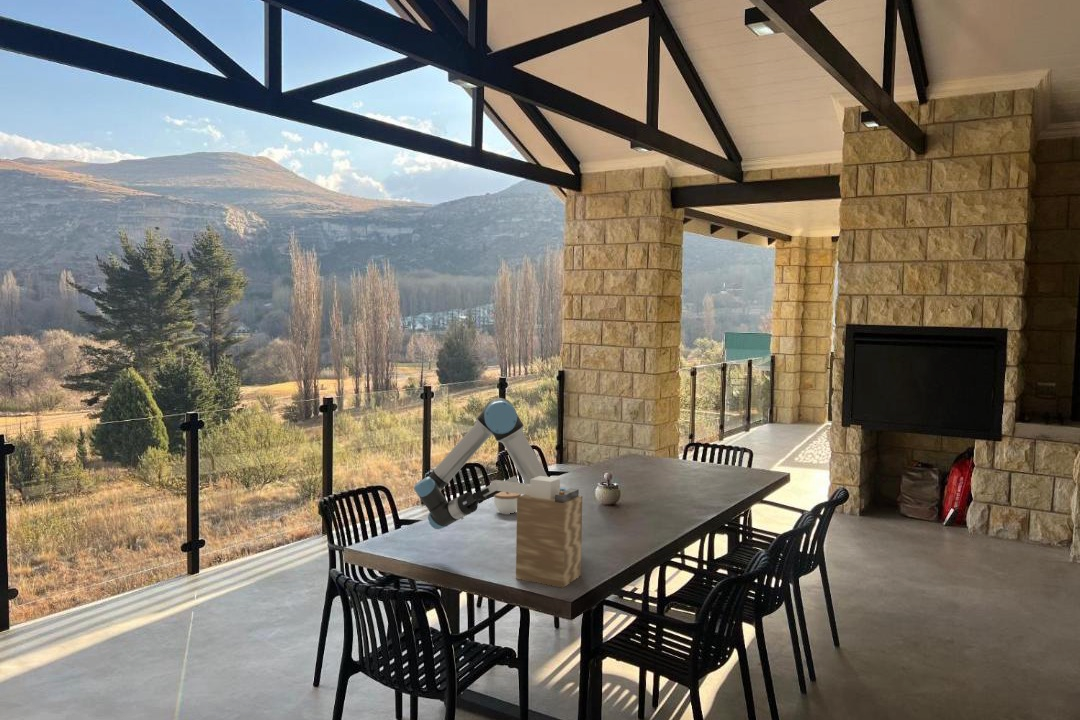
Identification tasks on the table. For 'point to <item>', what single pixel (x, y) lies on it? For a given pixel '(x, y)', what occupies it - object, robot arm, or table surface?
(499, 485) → the white long stepped block
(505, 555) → the table surface
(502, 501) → the lidded bowl
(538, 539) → the cabinet
